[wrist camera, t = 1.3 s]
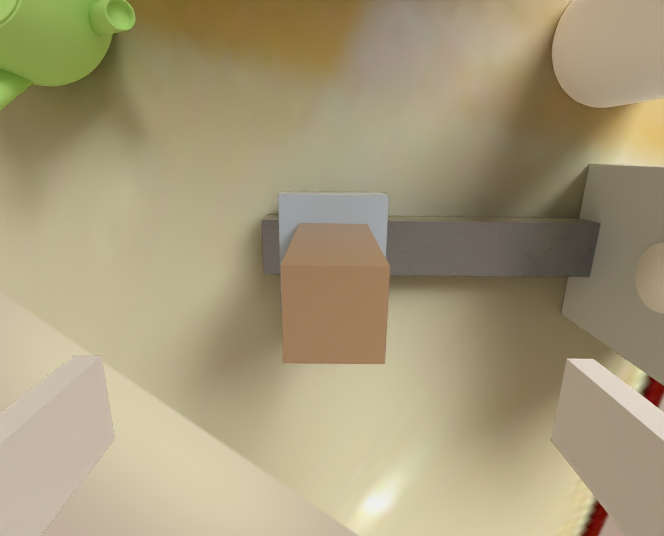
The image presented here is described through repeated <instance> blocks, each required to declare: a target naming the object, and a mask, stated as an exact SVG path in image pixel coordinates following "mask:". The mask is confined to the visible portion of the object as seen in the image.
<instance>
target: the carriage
mask: <svg viewBox="0 0 664 536" xmlns="http://www.w3.org/2000/svg"><path fill="white" fill-rule="evenodd" d="M278 204H279V244H280V284H281V312H282V339H283V363H319V364H385V351H386V333H387V315H388V297H389V279H390V265H389V263H388V261H387V259H386V242H387V223H388V204H389V196H388V195H387V194H386V193H357V192H281V193H280V194H278Z"/></svg>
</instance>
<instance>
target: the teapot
mask: <svg viewBox="0 0 664 536" xmlns="http://www.w3.org/2000/svg"><path fill="white" fill-rule="evenodd" d="M135 22H136V16H135V12H134V10H133V8H132V6H131V5H130V4H129V3H128V2H127V1H126V0H0V110H2V109H3V108H4V107H5V106H7V105H8V104H9V103H10V102H12V101H13V100H14V99H15V98H16V97H18V96H19V95H20V94H21V93H23V92H24V91H25V90H26V89H27V88H29V87H30V86H31V85H32V84H35V85H39V86H61V85H66V84H70V83H72V82H75V81H78V80H80V79H82V78H83V77H85V76H87V75H88V74H89V73H91V72H92V71H93V70H94V69H95V68H97V67H98V65H99V64H100V62H101V61H102V59H103V58H104V56H105V55H106V53H107V50H108V48H109V46H110V43H111V40H112V36H113V34H114V33H118V32H123V31H128V30H130V29H132V28H133V27H134V25H135Z"/></svg>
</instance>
